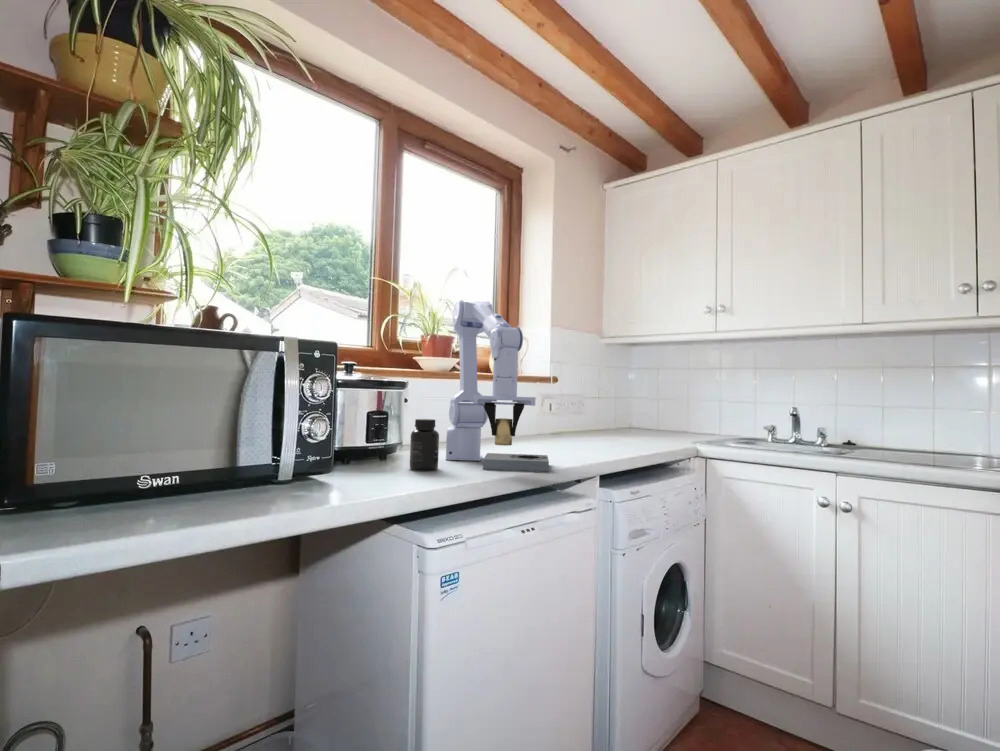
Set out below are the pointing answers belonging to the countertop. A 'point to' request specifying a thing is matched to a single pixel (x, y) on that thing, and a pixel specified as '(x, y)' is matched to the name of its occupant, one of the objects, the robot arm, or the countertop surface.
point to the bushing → (503, 431)
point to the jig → (516, 462)
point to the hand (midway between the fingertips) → (503, 435)
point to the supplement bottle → (424, 446)
